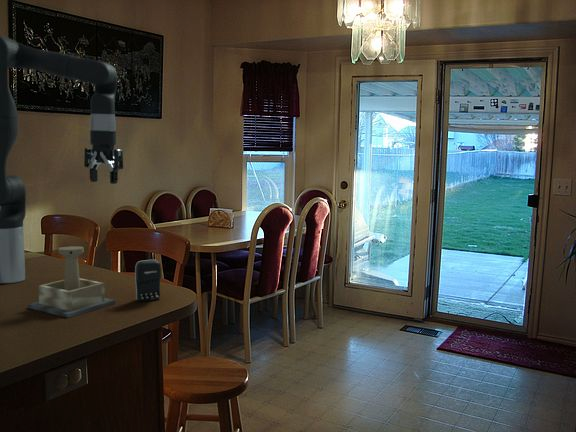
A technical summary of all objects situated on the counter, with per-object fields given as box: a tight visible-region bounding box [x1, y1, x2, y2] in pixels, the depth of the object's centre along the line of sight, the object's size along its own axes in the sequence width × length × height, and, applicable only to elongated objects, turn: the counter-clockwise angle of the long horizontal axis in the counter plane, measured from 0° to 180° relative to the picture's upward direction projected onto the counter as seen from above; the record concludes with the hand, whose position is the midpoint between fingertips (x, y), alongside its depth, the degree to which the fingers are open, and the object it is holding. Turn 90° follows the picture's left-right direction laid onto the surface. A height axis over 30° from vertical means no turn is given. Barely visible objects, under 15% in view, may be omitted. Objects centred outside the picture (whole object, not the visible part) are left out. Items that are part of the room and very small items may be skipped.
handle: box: [58, 246, 85, 291], centre depth 164 cm, size 5×6×15 cm
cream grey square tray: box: [27, 277, 116, 319], centre depth 165 cm, size 16×16×6 cm
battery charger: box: [134, 259, 162, 302], centre depth 172 cm, size 7×4×11 cm, turn 120°
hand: (103, 182), depth 185 cm, fingers open, 8 cm apart
